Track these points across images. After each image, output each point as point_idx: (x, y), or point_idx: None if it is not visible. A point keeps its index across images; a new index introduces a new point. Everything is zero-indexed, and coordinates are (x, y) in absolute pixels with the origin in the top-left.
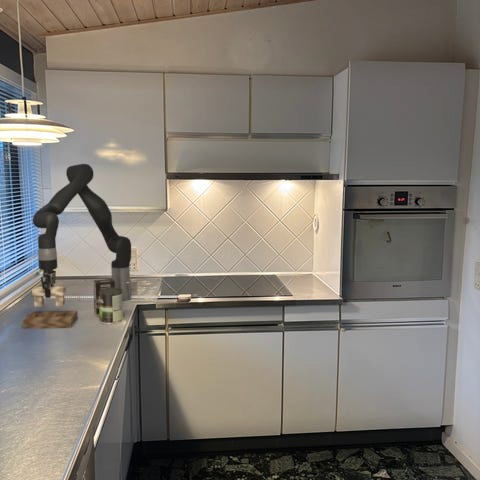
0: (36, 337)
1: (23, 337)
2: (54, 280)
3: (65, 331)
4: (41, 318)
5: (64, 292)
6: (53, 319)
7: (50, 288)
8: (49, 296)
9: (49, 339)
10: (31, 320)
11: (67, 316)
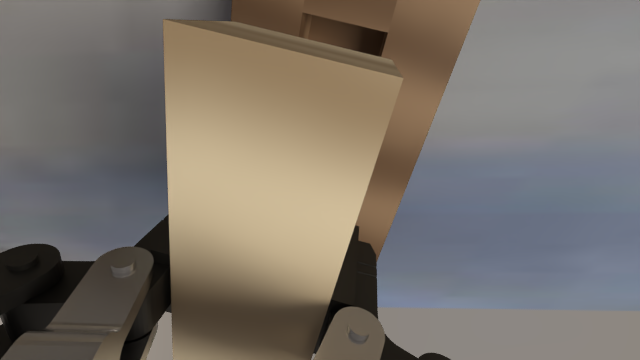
0: (544, 195)
1: (504, 247)
2: (43, 337)
3: (528, 26)
4: (377, 197)
5: (304, 42)
6: (430, 124)
7: (360, 318)
8: (356, 239)
9: (636, 128)
10: (381, 243)
11: (398, 11)
